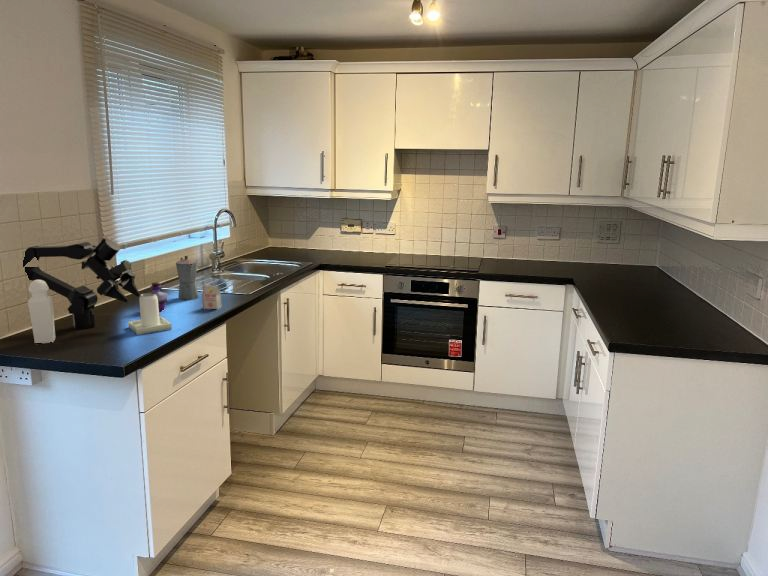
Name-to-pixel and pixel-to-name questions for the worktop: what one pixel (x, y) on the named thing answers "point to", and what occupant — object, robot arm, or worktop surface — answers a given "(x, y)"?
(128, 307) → the worktop surface
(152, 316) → the can
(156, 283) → the potion bottle
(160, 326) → the tray
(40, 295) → the white bottle
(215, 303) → the cream paper food packet
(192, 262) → the moka pot
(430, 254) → the worktop surface
